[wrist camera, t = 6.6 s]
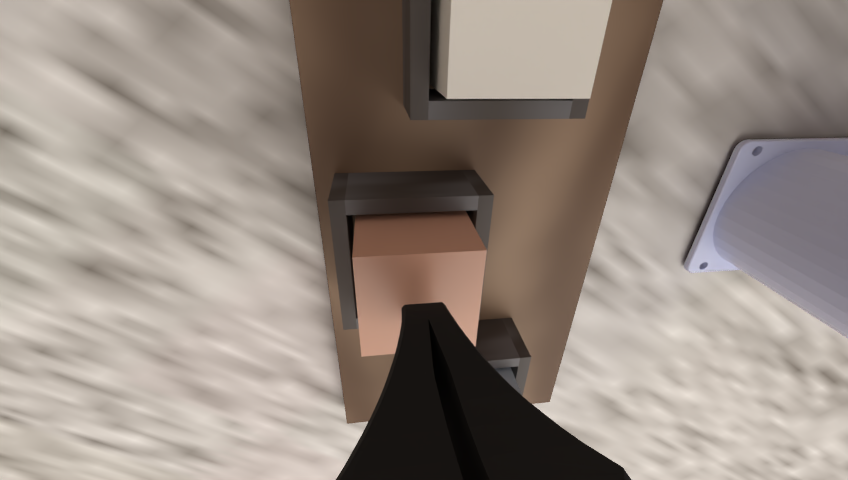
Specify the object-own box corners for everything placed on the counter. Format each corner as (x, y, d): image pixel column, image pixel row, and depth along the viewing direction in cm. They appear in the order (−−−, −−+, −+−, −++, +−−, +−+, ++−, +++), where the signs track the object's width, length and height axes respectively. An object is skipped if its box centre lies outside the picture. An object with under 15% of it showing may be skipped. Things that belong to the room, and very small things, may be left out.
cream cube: (566, -62, 12) (633, -93, 9) (542, 84, 14) (590, 98, 11) (433, -69, 11) (456, -105, 8) (429, 84, 14) (446, 98, 11)
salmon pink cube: (463, 206, 15) (487, 250, 12) (457, 292, 17) (475, 347, 14) (355, 211, 15) (352, 257, 12) (362, 298, 17) (361, 356, 14)
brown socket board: (684, -143, 13) (799, -207, 9) (543, 389, 27) (569, 443, 23) (270, -179, 11) (226, -273, 8) (347, 409, 25) (344, 470, 22)
